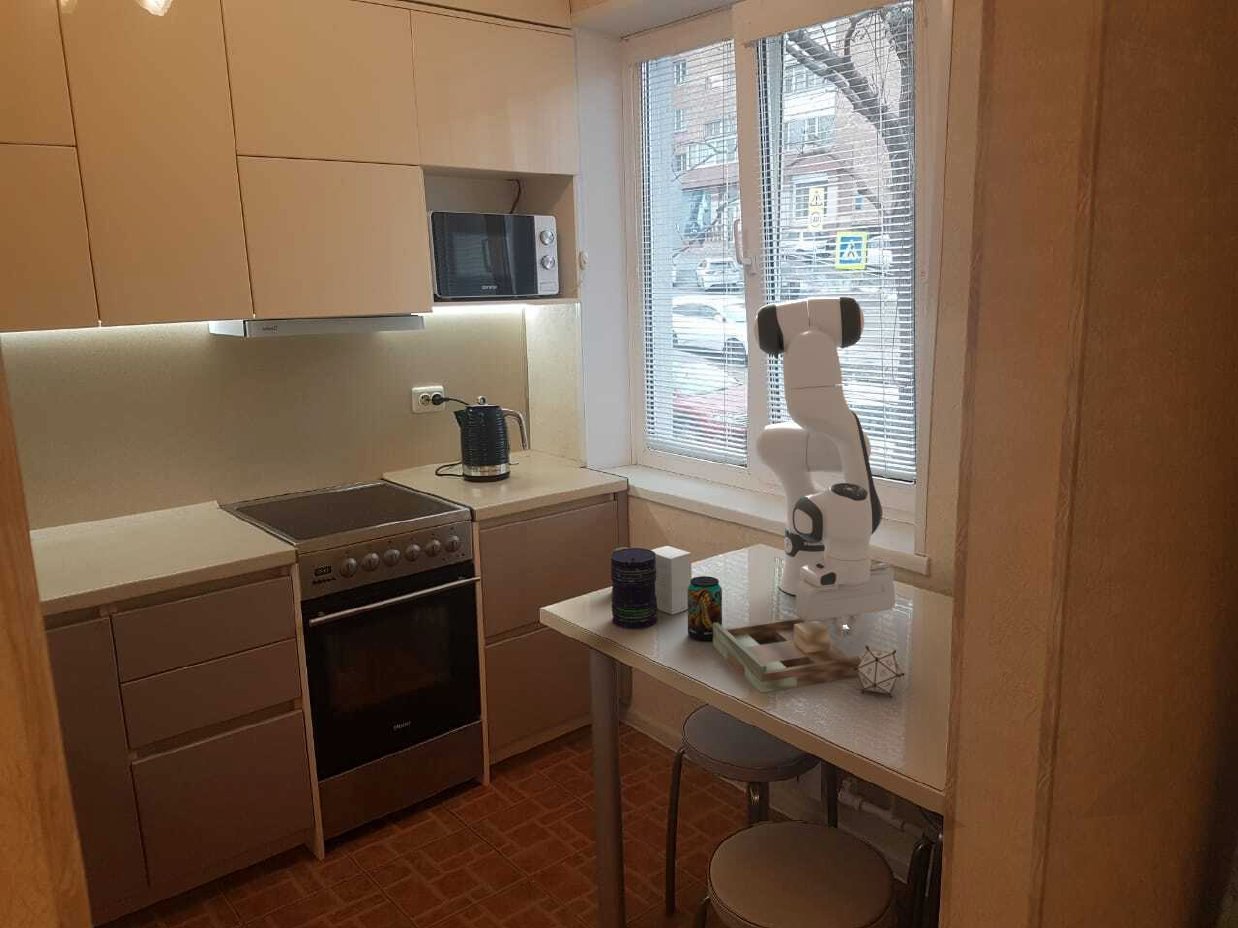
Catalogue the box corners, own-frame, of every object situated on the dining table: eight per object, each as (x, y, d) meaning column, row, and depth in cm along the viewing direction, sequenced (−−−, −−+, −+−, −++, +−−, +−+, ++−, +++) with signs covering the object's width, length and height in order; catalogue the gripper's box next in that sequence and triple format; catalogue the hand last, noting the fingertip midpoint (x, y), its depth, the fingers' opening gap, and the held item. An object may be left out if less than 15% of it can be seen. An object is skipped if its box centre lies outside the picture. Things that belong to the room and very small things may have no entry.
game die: (866, 709, 165) (841, 656, 168) (909, 690, 165) (884, 638, 168) (872, 706, 156) (846, 651, 160) (919, 687, 156) (891, 632, 160)
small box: (692, 608, 205) (692, 552, 203) (671, 615, 201) (670, 558, 199) (668, 599, 211) (667, 544, 209) (647, 605, 208) (646, 550, 205)
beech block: (816, 639, 181) (817, 620, 181) (829, 649, 177) (829, 629, 176) (793, 643, 180) (794, 624, 179) (806, 653, 175) (806, 633, 174)
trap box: (802, 632, 190) (802, 609, 189) (859, 675, 170) (860, 650, 169) (713, 646, 185) (712, 622, 184) (761, 692, 164) (761, 666, 163)
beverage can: (692, 643, 186) (691, 587, 183) (684, 630, 193) (683, 576, 190) (725, 641, 187) (725, 585, 184) (717, 628, 194) (716, 573, 191)
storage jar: (612, 612, 204) (611, 548, 201) (657, 612, 204) (656, 547, 200) (611, 629, 194) (609, 562, 191) (657, 629, 194) (656, 561, 191)
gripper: (884, 557, 183) (882, 622, 186) (792, 569, 177) (791, 636, 180) (903, 566, 177) (900, 634, 180) (808, 579, 172) (806, 648, 174)
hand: (845, 635), depth 180 cm, fingers closed
